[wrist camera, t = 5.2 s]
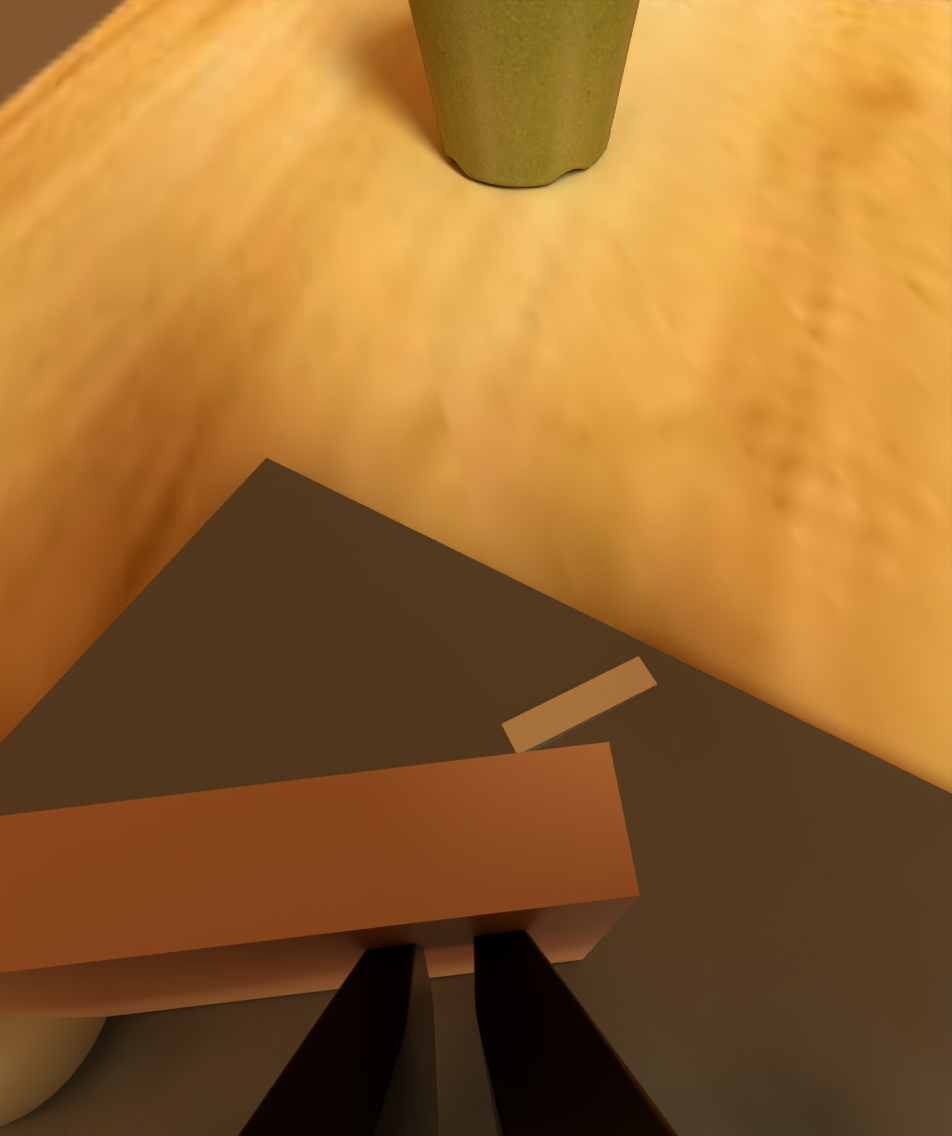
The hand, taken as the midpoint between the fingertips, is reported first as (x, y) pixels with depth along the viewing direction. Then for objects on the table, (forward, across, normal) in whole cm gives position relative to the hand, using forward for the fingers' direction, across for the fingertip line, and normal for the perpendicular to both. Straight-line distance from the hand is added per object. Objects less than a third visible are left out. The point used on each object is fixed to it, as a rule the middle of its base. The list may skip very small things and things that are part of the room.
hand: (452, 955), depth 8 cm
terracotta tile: (+5, +4, +3) cm, 7 cm away
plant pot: (+24, -5, -14) cm, 28 cm away
